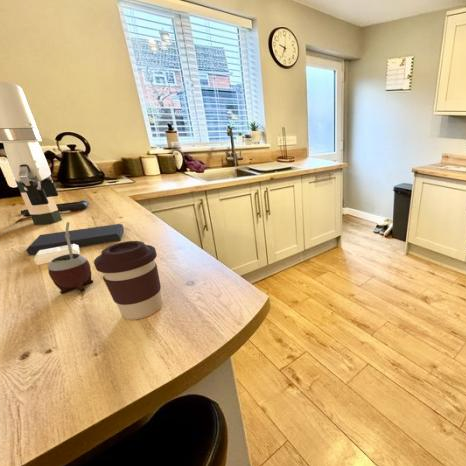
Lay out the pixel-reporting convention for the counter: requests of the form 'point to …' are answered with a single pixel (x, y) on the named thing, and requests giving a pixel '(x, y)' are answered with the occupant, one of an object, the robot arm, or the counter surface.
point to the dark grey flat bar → (78, 238)
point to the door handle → (64, 207)
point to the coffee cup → (131, 278)
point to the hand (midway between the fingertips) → (46, 200)
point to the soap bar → (54, 253)
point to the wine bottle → (41, 209)
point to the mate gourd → (70, 270)
